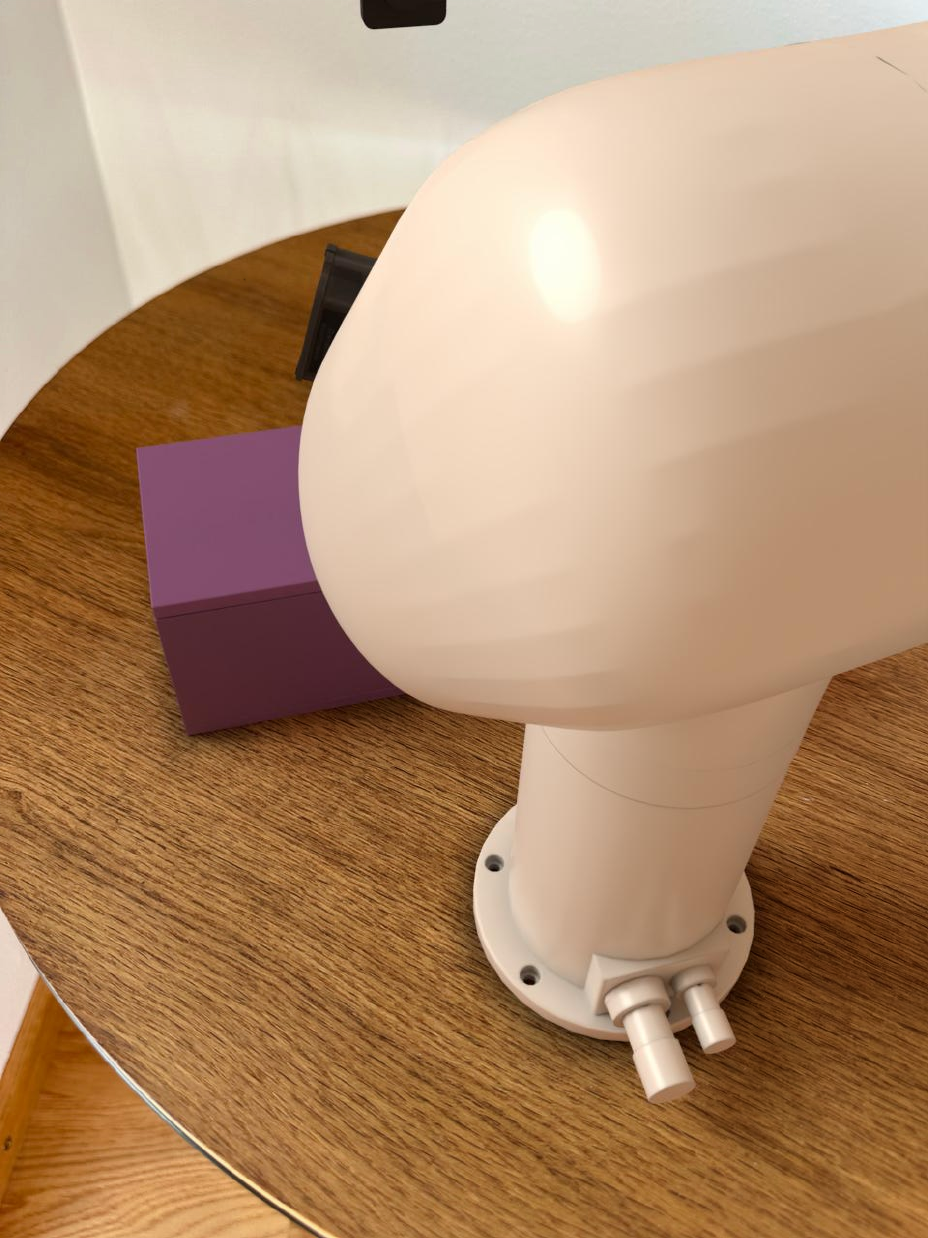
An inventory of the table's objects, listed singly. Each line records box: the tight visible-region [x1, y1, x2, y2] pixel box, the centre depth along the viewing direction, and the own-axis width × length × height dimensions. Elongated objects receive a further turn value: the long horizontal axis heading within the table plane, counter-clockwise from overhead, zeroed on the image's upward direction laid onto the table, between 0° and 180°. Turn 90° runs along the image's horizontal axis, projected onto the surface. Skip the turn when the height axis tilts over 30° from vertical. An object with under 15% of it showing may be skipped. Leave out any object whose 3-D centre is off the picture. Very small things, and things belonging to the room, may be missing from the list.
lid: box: [136, 424, 322, 620], centre depth 52 cm, size 14×12×5 cm
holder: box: [154, 591, 408, 737], centre depth 57 cm, size 14×12×9 cm
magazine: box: [294, 242, 378, 382], centre depth 71 cm, size 17×3×30 cm
